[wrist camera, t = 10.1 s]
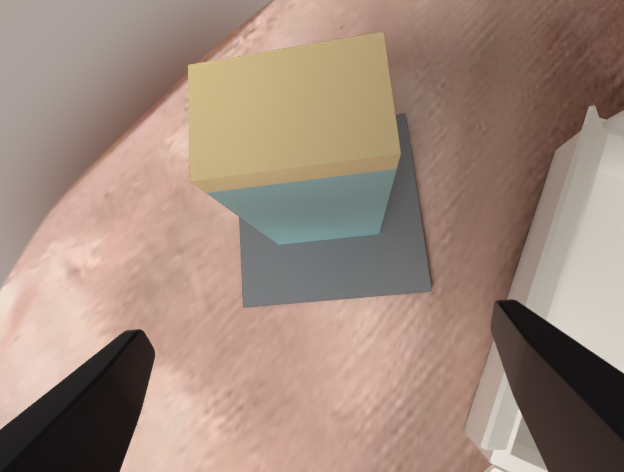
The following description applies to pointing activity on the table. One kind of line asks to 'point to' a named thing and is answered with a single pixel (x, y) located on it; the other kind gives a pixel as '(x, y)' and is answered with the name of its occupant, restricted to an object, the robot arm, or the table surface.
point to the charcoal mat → (343, 254)
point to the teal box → (297, 137)
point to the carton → (563, 280)
